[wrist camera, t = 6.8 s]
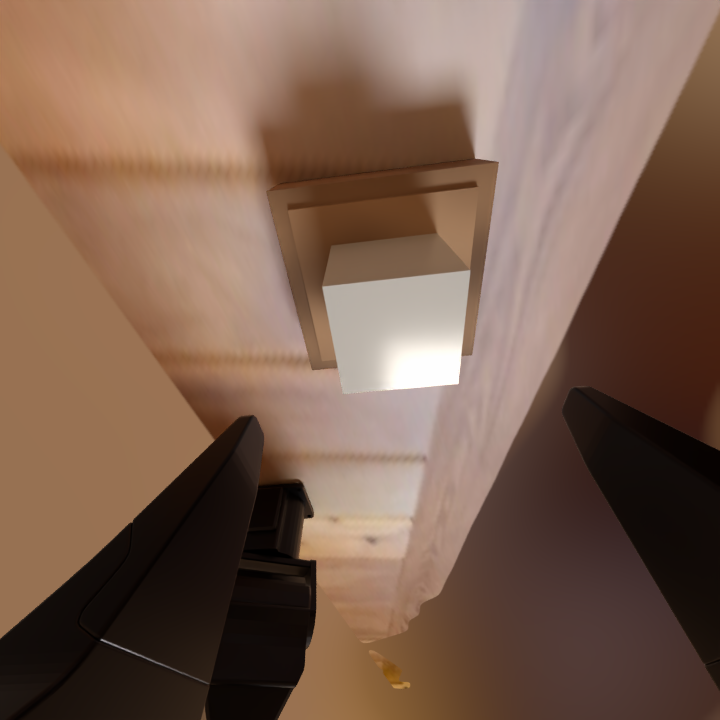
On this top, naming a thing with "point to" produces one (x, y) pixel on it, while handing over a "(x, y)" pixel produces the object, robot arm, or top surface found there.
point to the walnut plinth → (380, 230)
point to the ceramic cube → (396, 312)
